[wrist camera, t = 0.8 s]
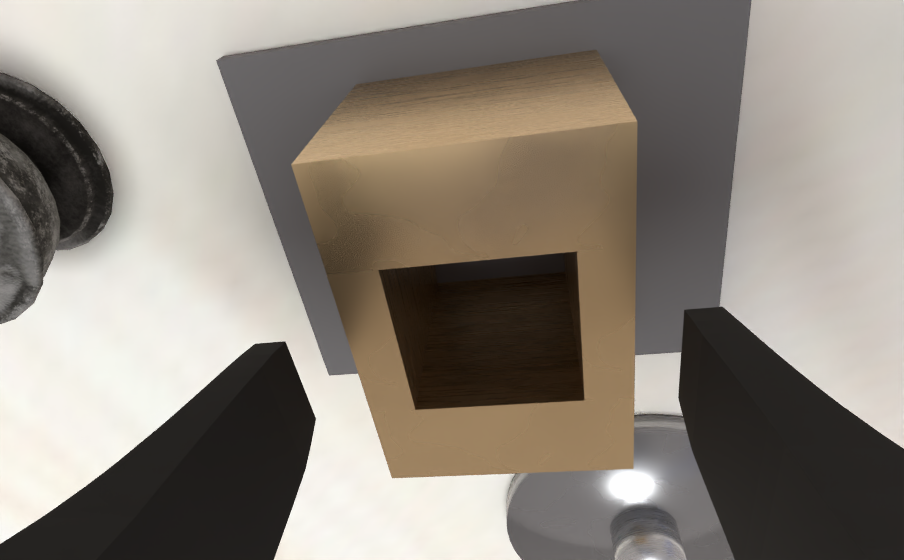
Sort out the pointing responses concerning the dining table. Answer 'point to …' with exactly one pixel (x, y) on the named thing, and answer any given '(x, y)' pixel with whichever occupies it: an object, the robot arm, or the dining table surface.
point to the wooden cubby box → (484, 238)
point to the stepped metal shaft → (43, 190)
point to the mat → (514, 39)
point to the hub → (621, 506)
